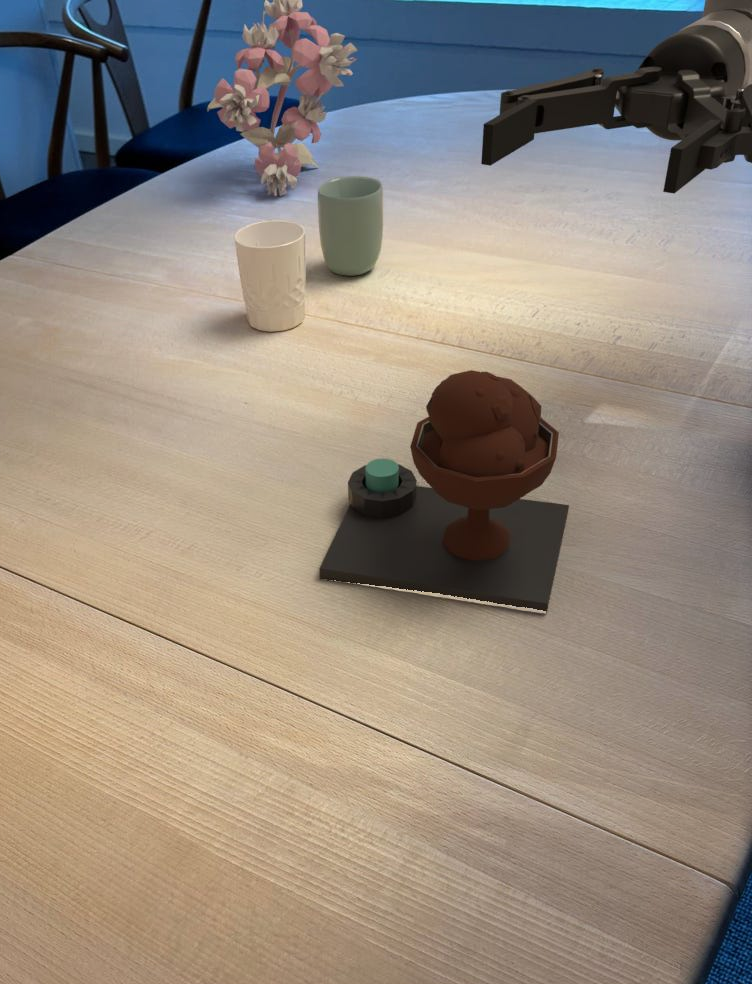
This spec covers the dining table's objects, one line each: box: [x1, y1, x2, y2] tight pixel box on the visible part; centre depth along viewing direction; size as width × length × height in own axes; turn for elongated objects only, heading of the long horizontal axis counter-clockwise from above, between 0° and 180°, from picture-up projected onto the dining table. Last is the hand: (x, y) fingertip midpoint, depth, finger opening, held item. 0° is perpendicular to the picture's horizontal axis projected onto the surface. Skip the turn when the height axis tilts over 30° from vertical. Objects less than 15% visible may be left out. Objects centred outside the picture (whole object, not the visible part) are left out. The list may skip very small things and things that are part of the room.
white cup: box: [233, 219, 307, 333], centre depth 111 cm, size 8×8×10 cm
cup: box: [317, 175, 384, 277], centre depth 120 cm, size 8×8×10 cm
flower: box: [206, 0, 358, 197], centre depth 144 cm, size 20×22×25 cm
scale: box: [319, 464, 570, 612], centre depth 80 cm, size 18×13×3 cm
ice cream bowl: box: [409, 369, 560, 561], centre depth 75 cm, size 11×11×15 cm
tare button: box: [365, 458, 399, 493], centre depth 83 cm, size 3×3×2 cm
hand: (574, 157), depth 67 cm, fingers open, 13 cm apart
